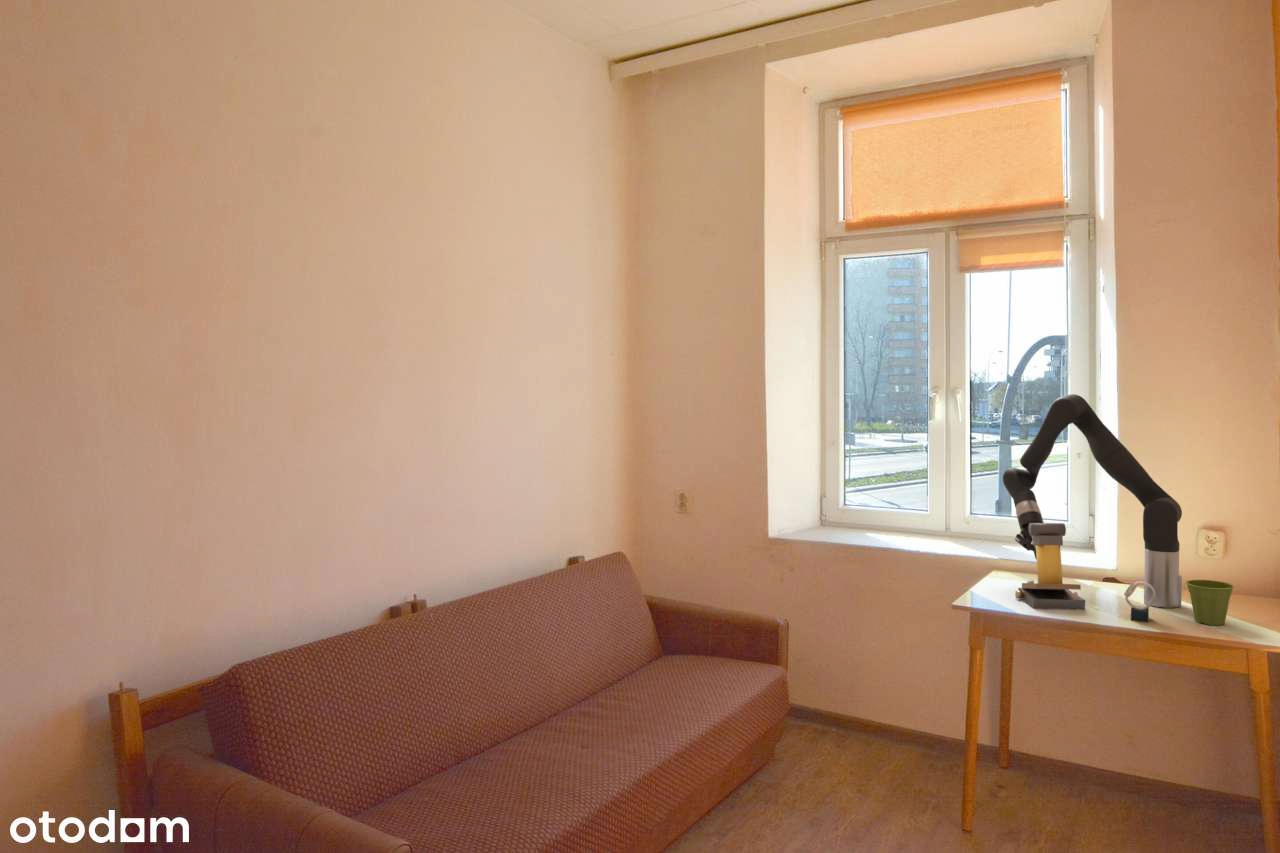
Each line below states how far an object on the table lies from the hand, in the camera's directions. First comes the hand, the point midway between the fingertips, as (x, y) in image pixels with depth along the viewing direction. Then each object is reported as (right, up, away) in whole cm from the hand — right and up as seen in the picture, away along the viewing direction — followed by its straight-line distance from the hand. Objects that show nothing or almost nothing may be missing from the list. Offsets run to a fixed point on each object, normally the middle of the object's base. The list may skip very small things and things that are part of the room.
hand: (1041, 560), depth 278 cm
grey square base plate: (-1, -12, -9) cm, 15 cm away
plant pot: (+33, -13, -32) cm, 48 cm away
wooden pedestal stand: (-1, -8, -9) cm, 12 cm away
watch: (+16, -13, -28) cm, 35 cm away
